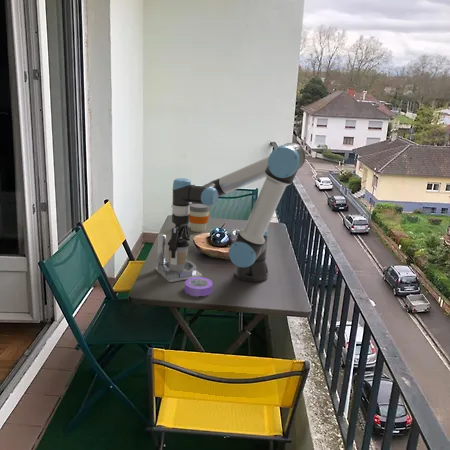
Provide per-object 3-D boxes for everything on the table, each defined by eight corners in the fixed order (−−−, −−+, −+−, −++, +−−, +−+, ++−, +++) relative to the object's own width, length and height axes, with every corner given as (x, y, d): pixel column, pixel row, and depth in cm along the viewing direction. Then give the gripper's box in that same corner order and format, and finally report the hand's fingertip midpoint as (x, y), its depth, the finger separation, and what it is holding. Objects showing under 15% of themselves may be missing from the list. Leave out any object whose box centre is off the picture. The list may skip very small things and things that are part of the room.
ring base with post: (202, 276, 206) (204, 241, 201) (169, 282, 198) (170, 245, 193) (186, 264, 219) (188, 230, 214) (155, 269, 211) (156, 234, 207)
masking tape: (184, 296, 187) (184, 288, 185) (184, 284, 198) (184, 276, 197) (212, 297, 188) (213, 289, 186) (211, 285, 199) (212, 277, 198)
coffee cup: (182, 277, 200) (184, 244, 197) (162, 273, 203) (164, 240, 200) (190, 271, 209) (192, 239, 206) (171, 268, 212) (173, 236, 209)
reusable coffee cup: (186, 231, 267) (187, 206, 262) (188, 225, 279) (189, 201, 274) (207, 233, 267) (209, 208, 262) (209, 227, 279) (210, 203, 274)
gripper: (182, 206, 213) (180, 249, 219) (161, 220, 190) (160, 267, 196) (197, 208, 211) (195, 251, 218) (178, 222, 188) (177, 270, 194)
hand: (179, 259), depth 207 cm, fingers open, 13 cm apart
